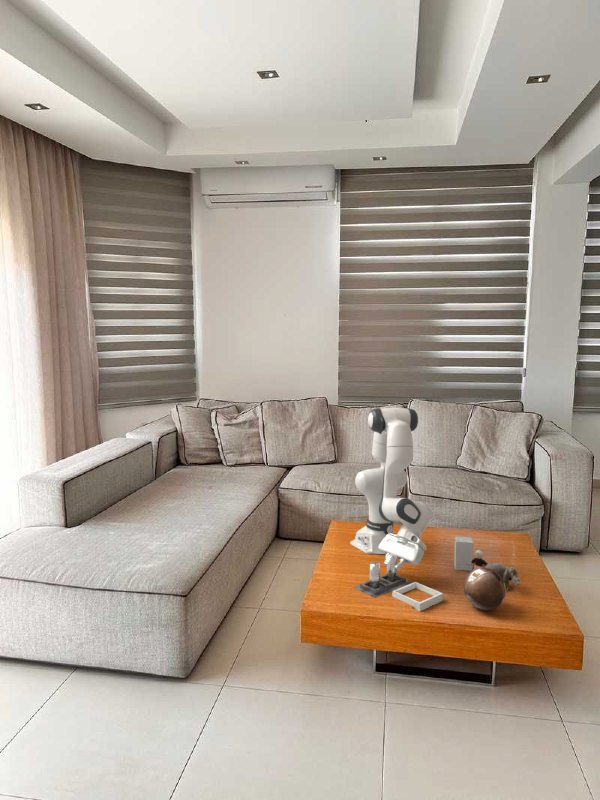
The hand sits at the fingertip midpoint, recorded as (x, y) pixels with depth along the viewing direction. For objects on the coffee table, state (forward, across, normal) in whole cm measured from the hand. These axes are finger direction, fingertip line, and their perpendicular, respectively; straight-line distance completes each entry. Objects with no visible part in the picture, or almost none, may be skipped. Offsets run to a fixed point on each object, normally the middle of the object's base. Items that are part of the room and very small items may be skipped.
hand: (390, 566), depth 243 cm
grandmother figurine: (-17, +20, +28) cm, 38 cm away
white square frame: (+7, +16, +4) cm, 18 cm away
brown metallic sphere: (-3, +36, +14) cm, 39 cm away
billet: (+3, 0, +4) cm, 5 cm away
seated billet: (+11, 0, -2) cm, 11 cm away
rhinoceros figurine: (-18, +30, +29) cm, 46 cm away
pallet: (+8, 0, +2) cm, 9 cm away
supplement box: (-21, +8, +32) cm, 39 cm away
